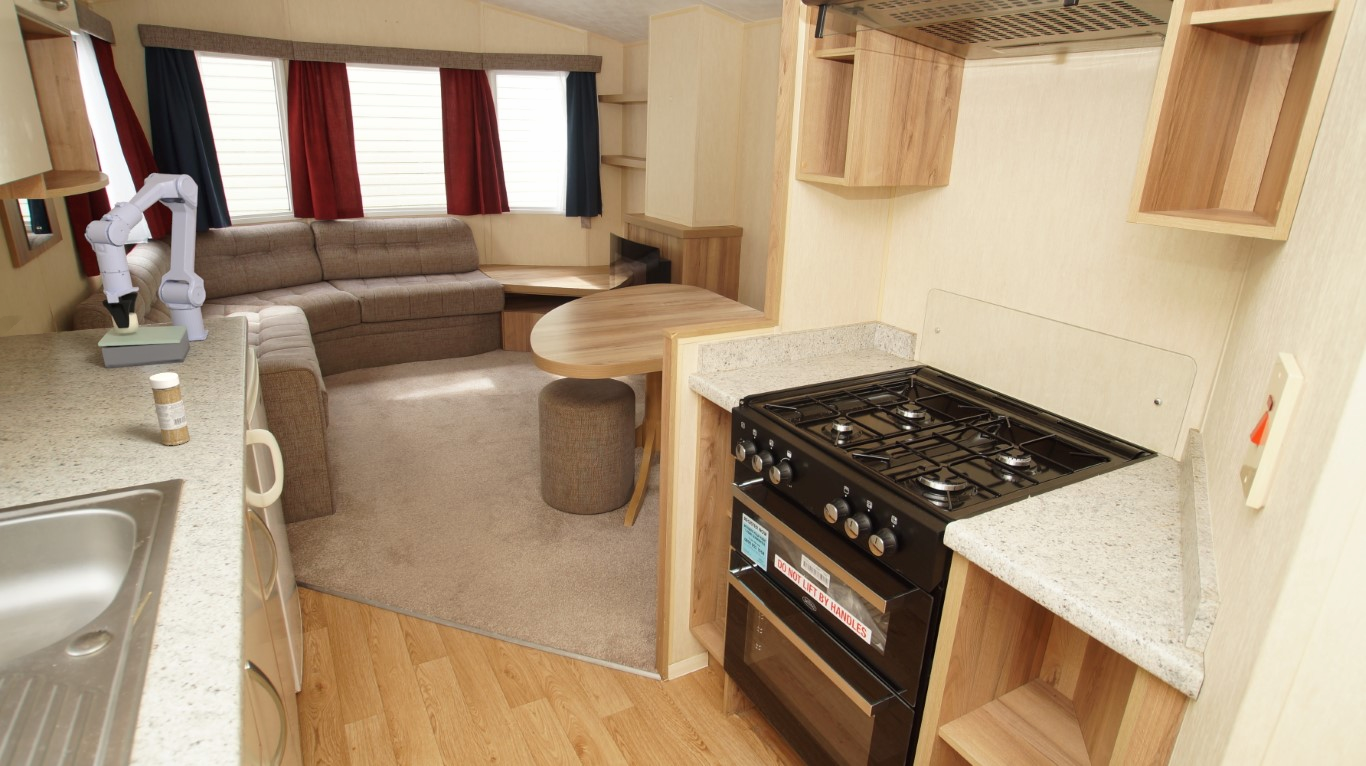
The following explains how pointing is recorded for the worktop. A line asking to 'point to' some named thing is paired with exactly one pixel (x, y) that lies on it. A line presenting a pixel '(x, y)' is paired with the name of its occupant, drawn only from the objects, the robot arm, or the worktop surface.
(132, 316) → the cream rounded cup
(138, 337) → the lid
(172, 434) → the sprinkles bottle
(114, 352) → the box
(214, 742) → the worktop surface
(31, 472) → the worktop surface
